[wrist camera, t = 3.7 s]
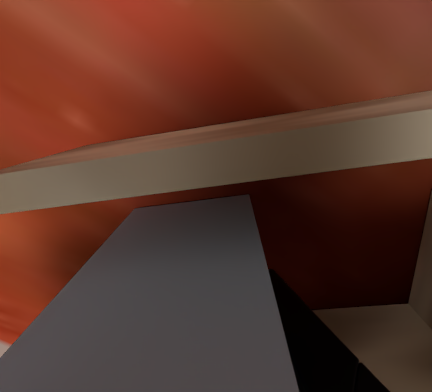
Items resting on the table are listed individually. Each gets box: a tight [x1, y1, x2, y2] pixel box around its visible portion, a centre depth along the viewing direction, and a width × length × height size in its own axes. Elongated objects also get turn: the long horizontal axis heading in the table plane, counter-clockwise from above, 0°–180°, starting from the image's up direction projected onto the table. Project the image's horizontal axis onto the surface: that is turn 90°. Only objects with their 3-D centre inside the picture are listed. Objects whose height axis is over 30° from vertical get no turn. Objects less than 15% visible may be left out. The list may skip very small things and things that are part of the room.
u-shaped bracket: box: [0, 91, 432, 392], centre depth 7 cm, size 13×10×4 cm
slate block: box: [0, 194, 299, 392], centre depth 6 cm, size 4×4×7 cm
